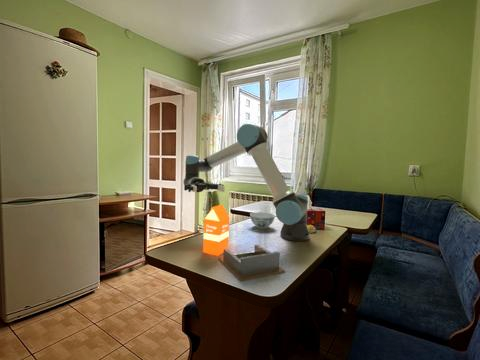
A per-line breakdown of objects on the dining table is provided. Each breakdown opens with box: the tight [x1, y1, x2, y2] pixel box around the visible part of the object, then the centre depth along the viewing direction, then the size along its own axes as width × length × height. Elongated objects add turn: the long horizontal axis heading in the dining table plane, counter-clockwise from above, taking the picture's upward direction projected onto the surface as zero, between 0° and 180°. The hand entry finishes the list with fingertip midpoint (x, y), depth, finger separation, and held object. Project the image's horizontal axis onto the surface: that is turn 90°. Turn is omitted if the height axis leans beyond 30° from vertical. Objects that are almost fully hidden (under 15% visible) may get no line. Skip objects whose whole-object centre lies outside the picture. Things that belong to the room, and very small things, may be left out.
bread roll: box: [307, 224, 317, 234], centre depth 148 cm, size 8×9×4 cm
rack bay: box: [217, 244, 286, 282], centre depth 96 cm, size 20×18×7 cm
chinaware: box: [249, 211, 276, 230], centre depth 152 cm, size 15×15×8 cm
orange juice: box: [202, 204, 230, 257], centre depth 109 cm, size 8×9×20 cm
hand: (210, 189), depth 117 cm, fingers open, 13 cm apart
